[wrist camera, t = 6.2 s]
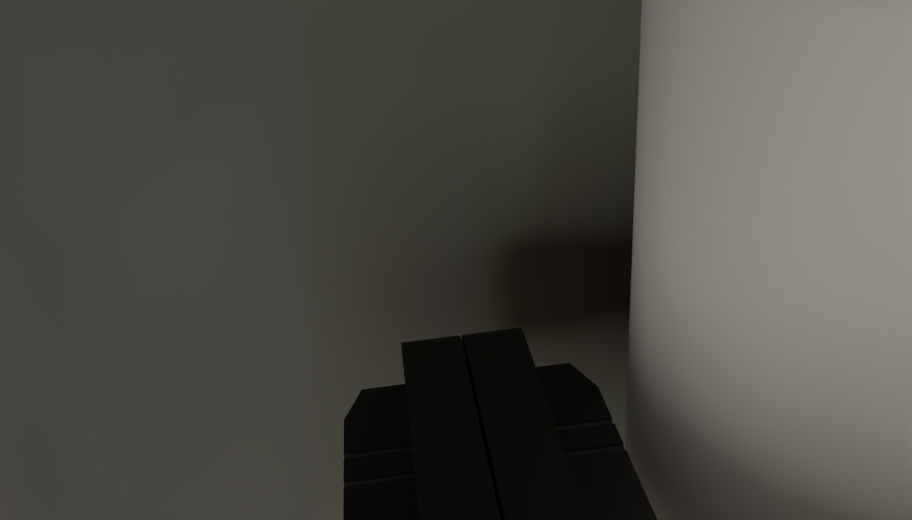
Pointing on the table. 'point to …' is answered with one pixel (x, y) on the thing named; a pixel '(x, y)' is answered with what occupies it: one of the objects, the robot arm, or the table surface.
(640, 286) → the paper roll
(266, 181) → the table surface
